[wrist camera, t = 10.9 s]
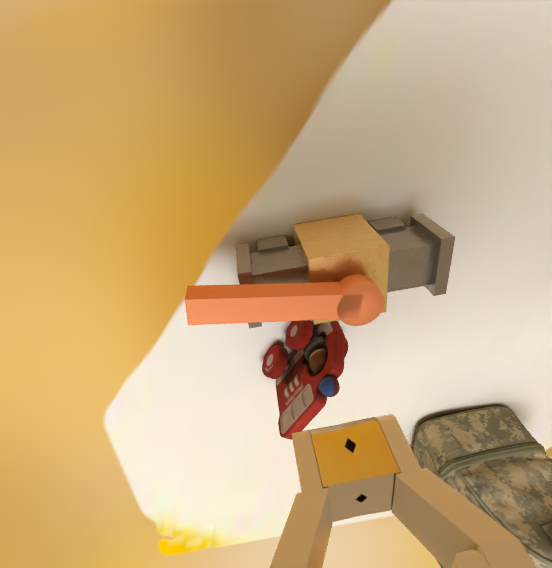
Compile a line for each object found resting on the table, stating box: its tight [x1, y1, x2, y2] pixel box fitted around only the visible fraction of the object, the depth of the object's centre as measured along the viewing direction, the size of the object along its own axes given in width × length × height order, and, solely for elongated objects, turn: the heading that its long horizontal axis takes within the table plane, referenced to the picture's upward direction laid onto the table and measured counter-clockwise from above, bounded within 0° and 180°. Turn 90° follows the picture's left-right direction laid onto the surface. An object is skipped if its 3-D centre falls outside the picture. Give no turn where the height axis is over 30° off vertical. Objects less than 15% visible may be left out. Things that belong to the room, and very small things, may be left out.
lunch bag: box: [412, 406, 552, 568], centre depth 53 cm, size 26×18×22 cm
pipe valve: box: [236, 214, 455, 328], centre depth 34 cm, size 19×7×9 cm, turn 97°
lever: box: [185, 275, 384, 326], centre depth 28 cm, size 16×4×2 cm, turn 87°
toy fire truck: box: [262, 320, 348, 439], centre depth 40 cm, size 7×12×10 cm, turn 146°
